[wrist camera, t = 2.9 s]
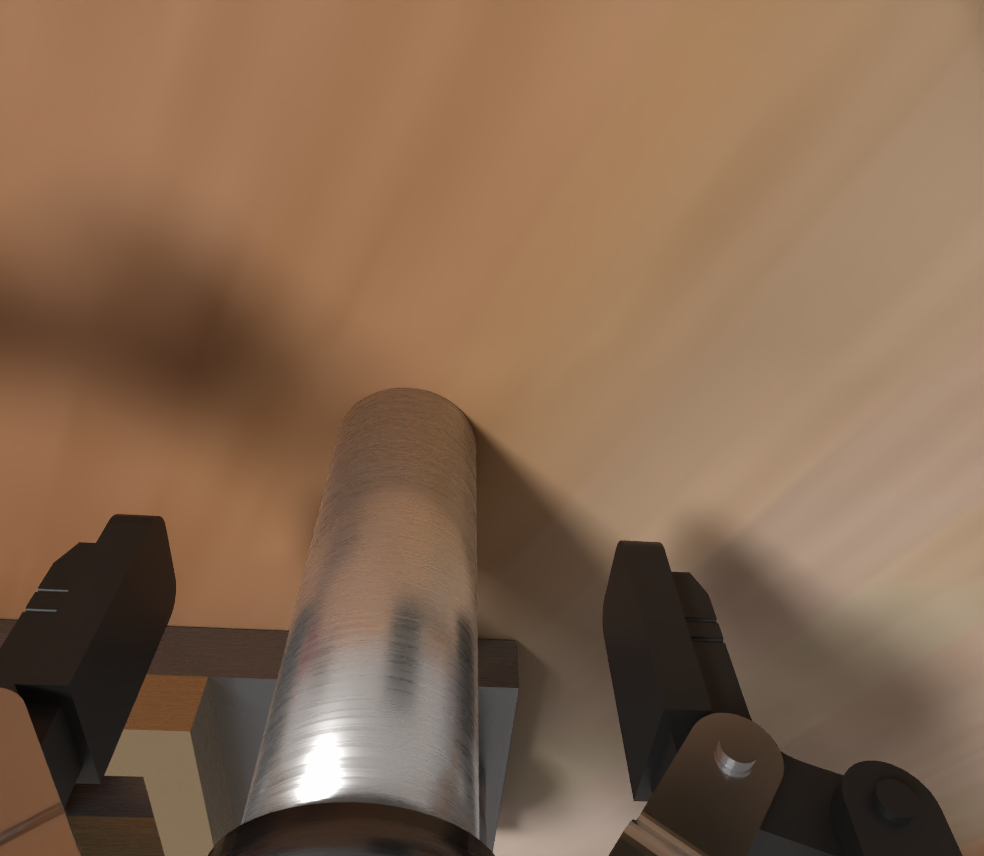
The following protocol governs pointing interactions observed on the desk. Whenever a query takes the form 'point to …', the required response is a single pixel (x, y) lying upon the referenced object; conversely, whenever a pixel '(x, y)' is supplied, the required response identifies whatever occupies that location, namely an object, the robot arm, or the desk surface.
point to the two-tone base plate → (232, 743)
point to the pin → (380, 652)
